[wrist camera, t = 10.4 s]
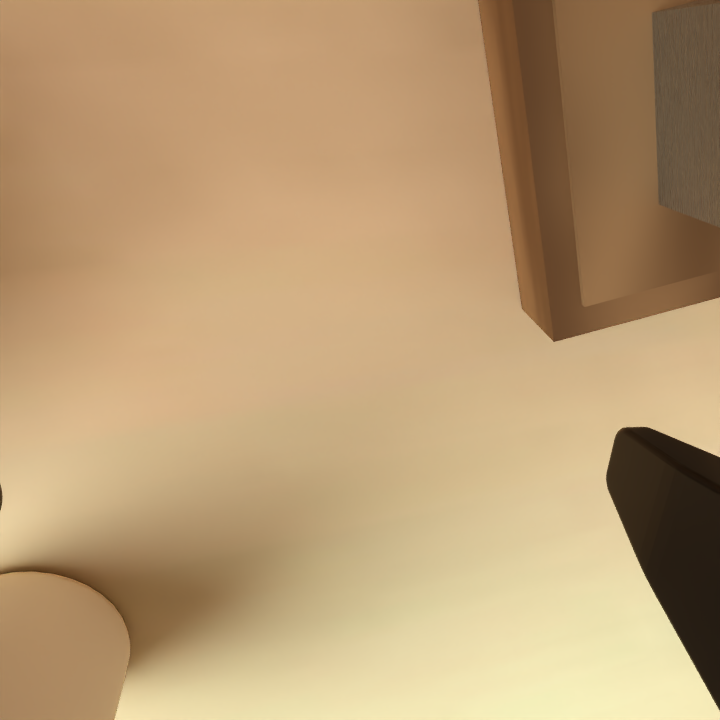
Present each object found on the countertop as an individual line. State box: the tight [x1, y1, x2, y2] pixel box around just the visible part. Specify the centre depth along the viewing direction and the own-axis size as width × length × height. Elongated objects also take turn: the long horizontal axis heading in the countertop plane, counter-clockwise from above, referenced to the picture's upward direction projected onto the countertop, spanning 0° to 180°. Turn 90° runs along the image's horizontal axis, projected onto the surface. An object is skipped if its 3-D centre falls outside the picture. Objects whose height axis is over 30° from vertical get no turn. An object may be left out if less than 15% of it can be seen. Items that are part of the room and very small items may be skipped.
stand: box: [478, 0, 720, 342], centre depth 19 cm, size 12×12×3 cm
